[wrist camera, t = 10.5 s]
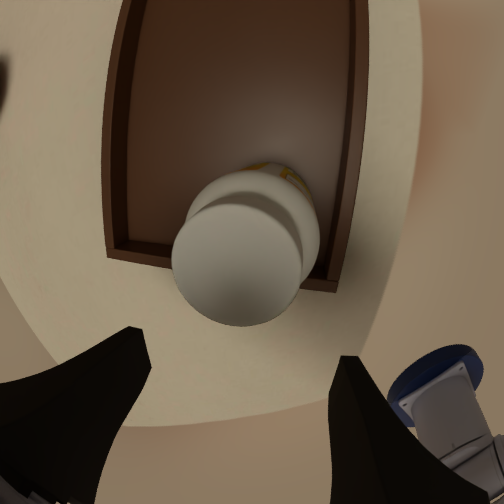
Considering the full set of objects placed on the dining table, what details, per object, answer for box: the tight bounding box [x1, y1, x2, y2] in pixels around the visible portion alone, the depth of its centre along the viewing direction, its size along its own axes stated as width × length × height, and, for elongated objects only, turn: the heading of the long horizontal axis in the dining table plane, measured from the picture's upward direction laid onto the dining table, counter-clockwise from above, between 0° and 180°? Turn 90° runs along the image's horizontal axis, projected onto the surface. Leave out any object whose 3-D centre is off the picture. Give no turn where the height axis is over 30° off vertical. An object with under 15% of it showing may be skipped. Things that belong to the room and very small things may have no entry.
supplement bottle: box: [172, 163, 320, 327], centre depth 12 cm, size 5×5×10 cm
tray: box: [101, 0, 369, 293], centre depth 13 cm, size 30×16×3 cm, turn 175°
